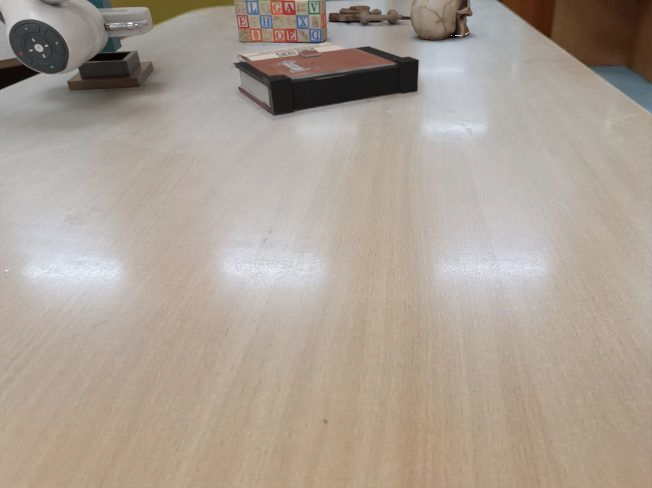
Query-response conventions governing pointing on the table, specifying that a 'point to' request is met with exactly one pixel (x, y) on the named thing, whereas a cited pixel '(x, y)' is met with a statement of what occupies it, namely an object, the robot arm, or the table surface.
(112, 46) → the teal rectangular block
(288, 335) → the table surface
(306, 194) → the table surface
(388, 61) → the book
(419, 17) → the skull
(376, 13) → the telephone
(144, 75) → the lower pad
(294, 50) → the newspaper
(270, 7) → the stack of blocks
